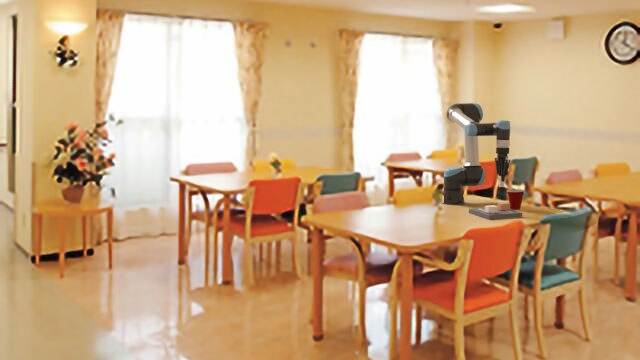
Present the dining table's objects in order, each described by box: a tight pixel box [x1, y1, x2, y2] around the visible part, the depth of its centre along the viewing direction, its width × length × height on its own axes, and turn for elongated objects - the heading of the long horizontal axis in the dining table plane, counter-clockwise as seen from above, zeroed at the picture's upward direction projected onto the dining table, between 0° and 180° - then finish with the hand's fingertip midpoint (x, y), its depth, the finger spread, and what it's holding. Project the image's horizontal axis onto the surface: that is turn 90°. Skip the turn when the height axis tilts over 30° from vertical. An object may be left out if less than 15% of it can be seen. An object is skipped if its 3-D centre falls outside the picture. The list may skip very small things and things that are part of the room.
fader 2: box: [496, 202, 510, 210], centre depth 382 cm, size 4×6×4 cm, turn 108°
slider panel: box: [468, 207, 523, 220], centre depth 381 cm, size 22×22×3 cm
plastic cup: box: [506, 189, 525, 211], centre depth 398 cm, size 11×11×12 cm
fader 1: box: [484, 204, 498, 213], centre depth 373 cm, size 4×6×4 cm, turn 108°
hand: (501, 186), depth 383 cm, fingers closed
